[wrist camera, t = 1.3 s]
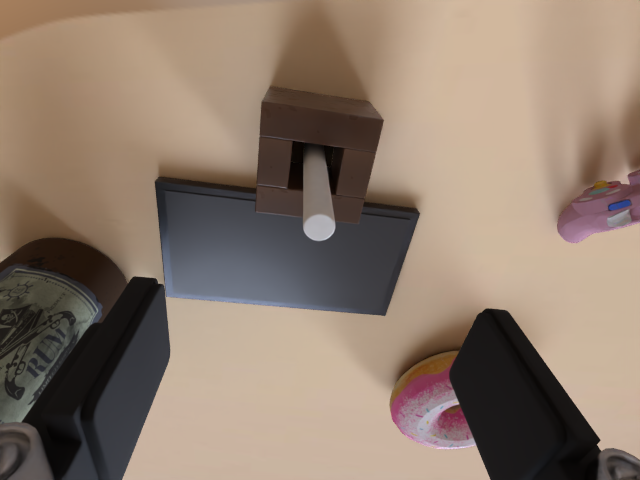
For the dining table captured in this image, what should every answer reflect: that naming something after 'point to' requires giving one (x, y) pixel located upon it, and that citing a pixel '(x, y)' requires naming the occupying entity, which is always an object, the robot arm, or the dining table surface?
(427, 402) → the donut
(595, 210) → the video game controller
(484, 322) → the robot arm
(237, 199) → the tablet
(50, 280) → the rum bottle
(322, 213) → the stylus
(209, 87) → the dining table surface
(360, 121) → the pen holder
